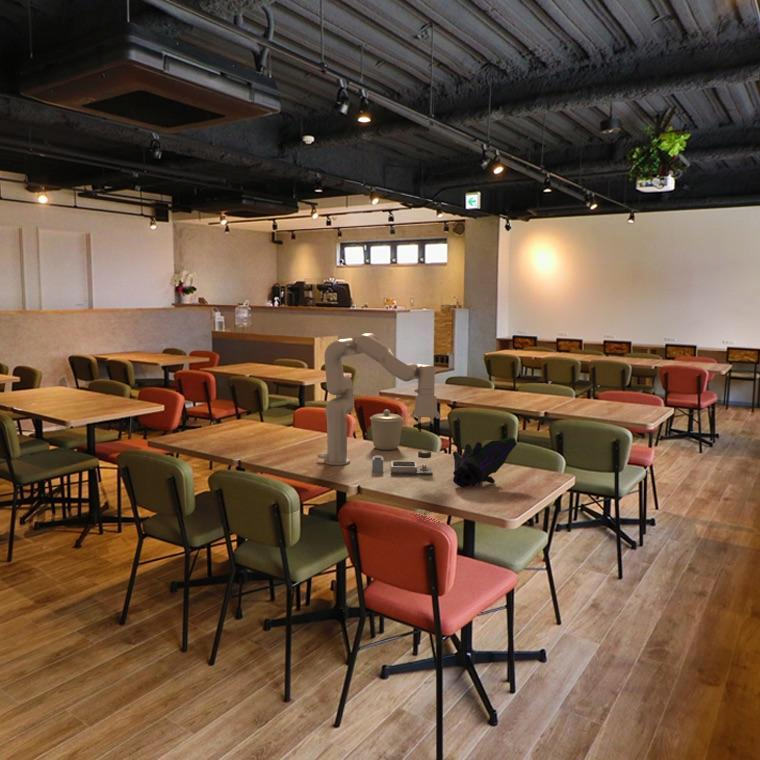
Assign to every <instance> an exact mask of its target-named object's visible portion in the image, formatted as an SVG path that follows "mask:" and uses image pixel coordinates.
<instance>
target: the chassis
mask: <svg viewBox="0 0 760 760" xmlns="http://www.w3.org/2000/svg"><path fill="white" fill-rule="evenodd" d="M419 475H420V476H421V475H422V477H423V476H425V475H426V476H427V477H428V476H429V477H431V476H432V477H433V476H434V474H433V469H432V466H431V465H427V464H422V465H418V464H417V461H415V460H391V461H390V476H419ZM426 476H425V477H426Z"/></svg>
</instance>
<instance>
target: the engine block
mask: <svg viewBox="0 0 760 760" xmlns="http://www.w3.org/2000/svg"><path fill="white" fill-rule="evenodd" d="M371 467H372V468H371V472H372V473H375V474H376V473H377V474H379V473H381V474H382V473H384V456H382V455H374V456H372V463H371Z"/></svg>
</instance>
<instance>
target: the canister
mask: <svg viewBox="0 0 760 760" xmlns="http://www.w3.org/2000/svg"><path fill="white" fill-rule="evenodd" d="M369 420H370V423H371V436H372V443H373V446H374V448H375V449H377V450H379V449H380V450H381V451H393V450H394V451H395V450H397V449H398V447H399V446H400V443H401V442H400V441H401V435H402V428H403V427H402V426H403V421H404V420H405V419H404V417H402V415H399V414H397V413H396V414H395V413H391V411H390V410H389V409H384V410H383V413H376V414H373V415H372V416H370V417H369Z"/></svg>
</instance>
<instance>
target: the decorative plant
mask: <svg viewBox="0 0 760 760" xmlns="http://www.w3.org/2000/svg"><path fill="white" fill-rule="evenodd" d="M516 445H518V444H517V440H516V438H515V437H508V438H504V439H497V440H494V439H493V440H490V441H489V442H487V443H486V444H484V446H483V445H482V442H480V441H479V442H478V441H476V443H475V445H474V446H473V448H472V446H471V445H470V443H467V444H465V447H464V450H463V453H462V454H461V455H460V453H459V452H458V451H456V450H454V451H453V452H452V456H453V458H454V459H453V460H454V471H453V473H452V474H453V478H452V480H453V483H454V484H455V485H456V486H458V487H459V488H468V487H470V486H471V487H473V488H474V487H476V486H477V485H478V484H479V485H480V484H481V483H483V482H486V483H490V484H495V482H496V481H495V479H494V478H493V477H492V476H490V475H492V474H496V473H497V472H498V470H500V468H501V467H502V466H504V464H505V462H506V460H507V459H508V457H509V455H510V453H512V450H514V449H515V447H516Z"/></svg>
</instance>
